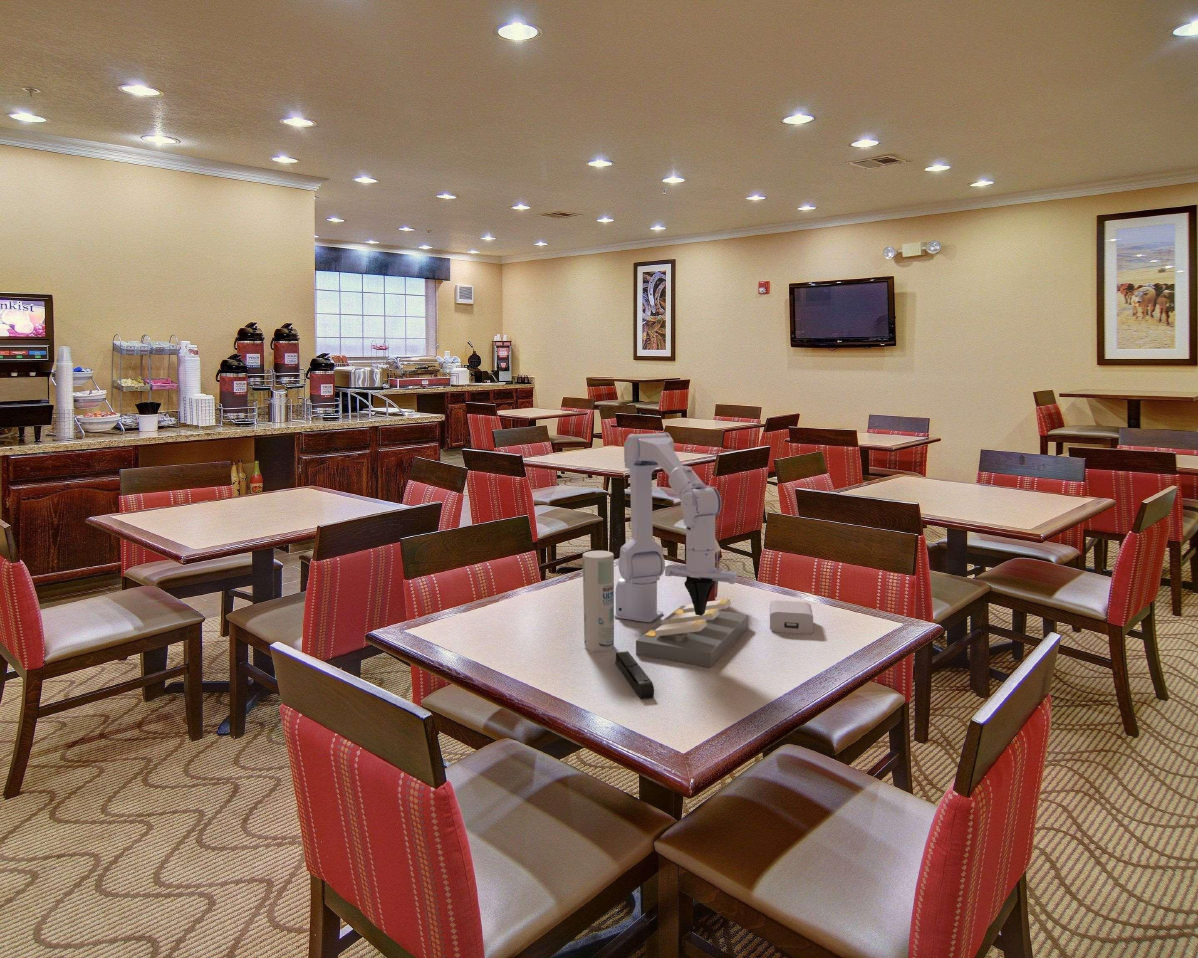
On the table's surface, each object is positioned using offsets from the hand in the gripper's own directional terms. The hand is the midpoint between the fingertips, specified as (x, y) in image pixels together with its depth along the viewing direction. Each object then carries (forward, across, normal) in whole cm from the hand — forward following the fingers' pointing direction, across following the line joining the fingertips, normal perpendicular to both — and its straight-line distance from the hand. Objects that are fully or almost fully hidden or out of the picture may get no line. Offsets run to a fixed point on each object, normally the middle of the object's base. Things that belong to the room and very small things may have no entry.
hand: (700, 613), depth 153 cm
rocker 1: (+4, -4, 0) cm, 6 cm away
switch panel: (+9, -4, +8) cm, 13 cm away
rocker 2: (+4, -4, +8) cm, 10 cm away
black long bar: (+9, -7, -17) cm, 21 cm away
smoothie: (+9, -12, +36) cm, 39 cm away
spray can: (+9, -21, -4) cm, 23 cm away
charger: (+9, +11, +29) cm, 33 cm away
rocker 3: (+4, -4, +16) cm, 17 cm away
